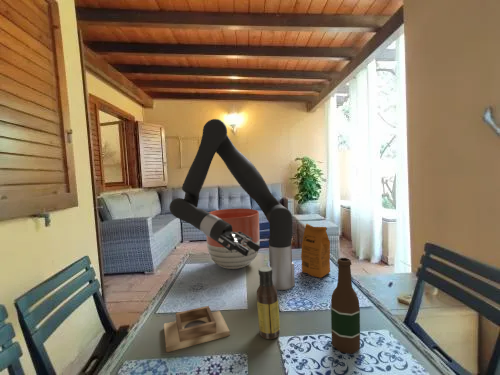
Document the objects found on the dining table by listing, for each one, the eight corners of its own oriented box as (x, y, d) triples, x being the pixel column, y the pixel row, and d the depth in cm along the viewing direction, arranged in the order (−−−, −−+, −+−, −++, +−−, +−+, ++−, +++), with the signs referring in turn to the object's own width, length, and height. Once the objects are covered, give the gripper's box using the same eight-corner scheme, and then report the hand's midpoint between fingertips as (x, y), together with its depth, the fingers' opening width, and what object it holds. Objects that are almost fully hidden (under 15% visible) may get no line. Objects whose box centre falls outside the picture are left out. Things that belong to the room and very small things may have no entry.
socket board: (219, 315, 91) (219, 302, 90) (229, 335, 80) (229, 320, 79) (164, 328, 85) (163, 314, 84) (166, 352, 73) (165, 336, 73)
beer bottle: (326, 337, 77) (324, 255, 75) (352, 334, 78) (351, 253, 76) (337, 356, 69) (336, 265, 67) (366, 353, 70) (365, 263, 68)
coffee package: (311, 266, 131) (310, 221, 129) (333, 273, 121) (332, 225, 119) (297, 271, 125) (296, 225, 123) (319, 279, 115) (318, 229, 113)
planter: (270, 261, 139) (268, 210, 137) (241, 281, 117) (238, 220, 115) (229, 254, 154) (226, 207, 152) (196, 270, 131) (193, 215, 129)
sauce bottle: (278, 326, 83) (276, 264, 81) (281, 339, 77) (279, 272, 75) (257, 328, 83) (255, 265, 81) (259, 341, 76) (256, 273, 75)
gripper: (208, 220, 88) (248, 244, 82) (230, 217, 101) (266, 238, 94) (200, 240, 89) (239, 265, 83) (222, 235, 102) (258, 257, 96)
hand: (253, 251), depth 89 cm, fingers open, 8 cm apart
